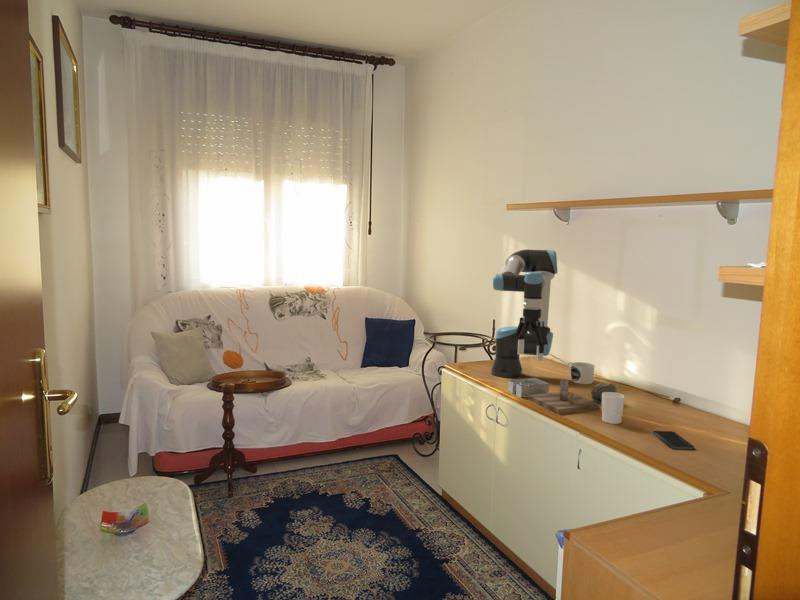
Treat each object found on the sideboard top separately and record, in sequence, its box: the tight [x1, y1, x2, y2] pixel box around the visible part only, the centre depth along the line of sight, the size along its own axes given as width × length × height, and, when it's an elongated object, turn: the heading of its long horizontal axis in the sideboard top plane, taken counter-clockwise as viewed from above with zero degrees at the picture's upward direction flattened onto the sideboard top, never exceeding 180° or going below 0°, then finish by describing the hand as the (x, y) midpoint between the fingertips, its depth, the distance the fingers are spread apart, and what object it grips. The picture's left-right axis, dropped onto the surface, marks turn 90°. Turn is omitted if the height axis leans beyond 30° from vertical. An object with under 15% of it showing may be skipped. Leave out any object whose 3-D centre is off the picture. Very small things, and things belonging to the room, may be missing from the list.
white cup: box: [601, 392, 626, 425], centre depth 205 cm, size 8×8×10 cm
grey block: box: [507, 377, 550, 398], centre depth 240 cm, size 14×10×5 cm
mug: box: [566, 361, 595, 385], centre depth 262 cm, size 13×10×8 cm
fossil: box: [590, 382, 618, 406], centre depth 230 cm, size 11×9×10 cm
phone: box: [652, 430, 695, 451], centre depth 186 cm, size 8×1×15 cm
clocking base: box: [528, 379, 601, 415], centre depth 224 cm, size 19×20×10 cm
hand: (529, 357), depth 238 cm, fingers open, 13 cm apart
